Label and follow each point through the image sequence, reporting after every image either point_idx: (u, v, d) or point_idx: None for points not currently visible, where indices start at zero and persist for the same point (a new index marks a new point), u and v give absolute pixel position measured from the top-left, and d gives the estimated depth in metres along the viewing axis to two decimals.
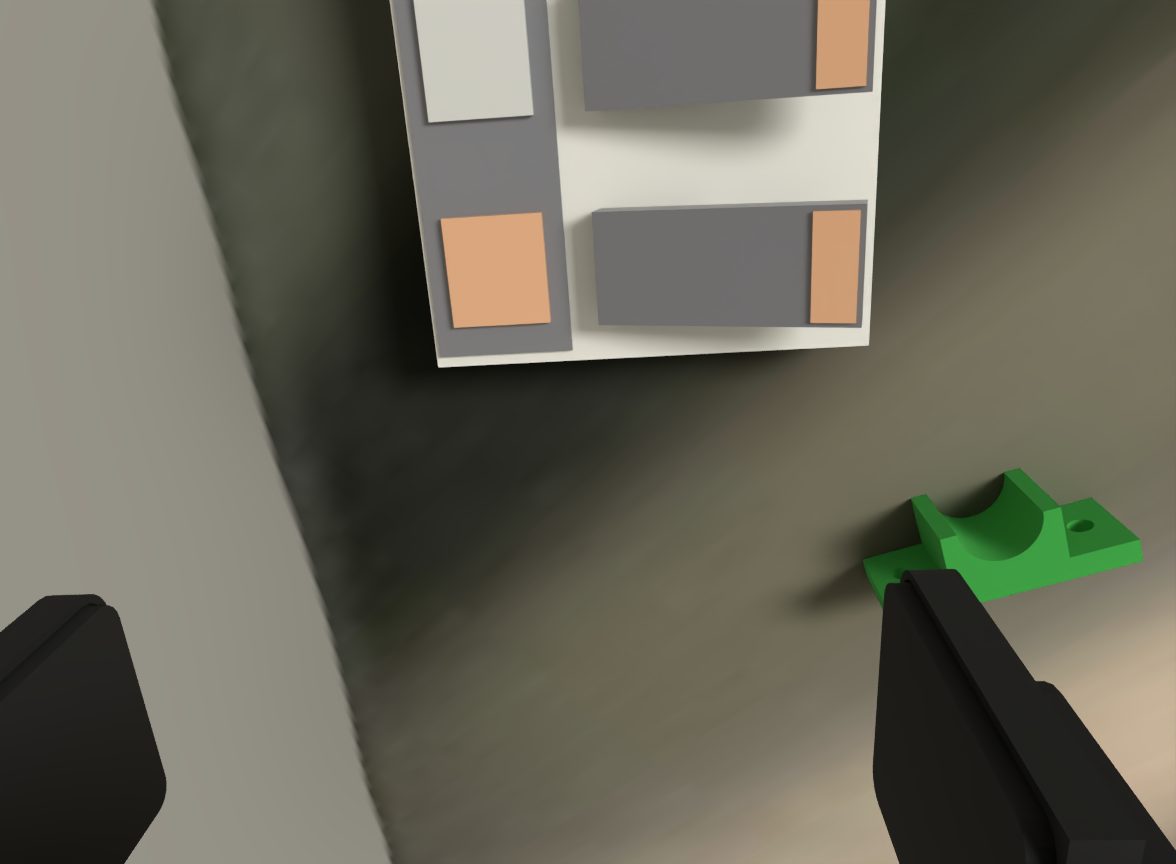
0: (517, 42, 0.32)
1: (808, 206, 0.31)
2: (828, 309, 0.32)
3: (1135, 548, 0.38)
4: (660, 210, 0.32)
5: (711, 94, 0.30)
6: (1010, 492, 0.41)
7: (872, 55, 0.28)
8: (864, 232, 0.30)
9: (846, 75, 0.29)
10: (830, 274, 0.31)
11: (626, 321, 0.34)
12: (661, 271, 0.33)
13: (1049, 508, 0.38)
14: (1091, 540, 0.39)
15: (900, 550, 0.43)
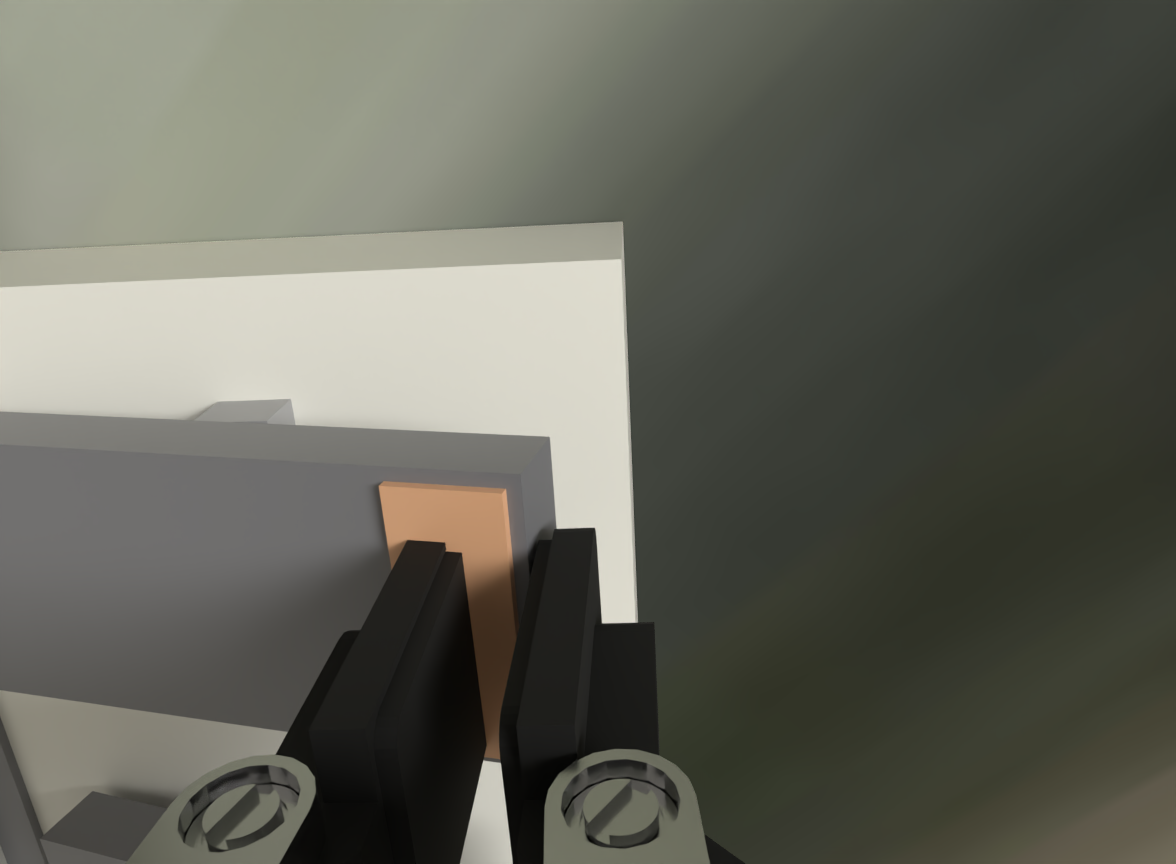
0: None
1: None
2: None
3: None
4: None
5: None
6: None
7: None
8: None
9: None
10: None
11: None
12: None
13: None
14: None
15: None
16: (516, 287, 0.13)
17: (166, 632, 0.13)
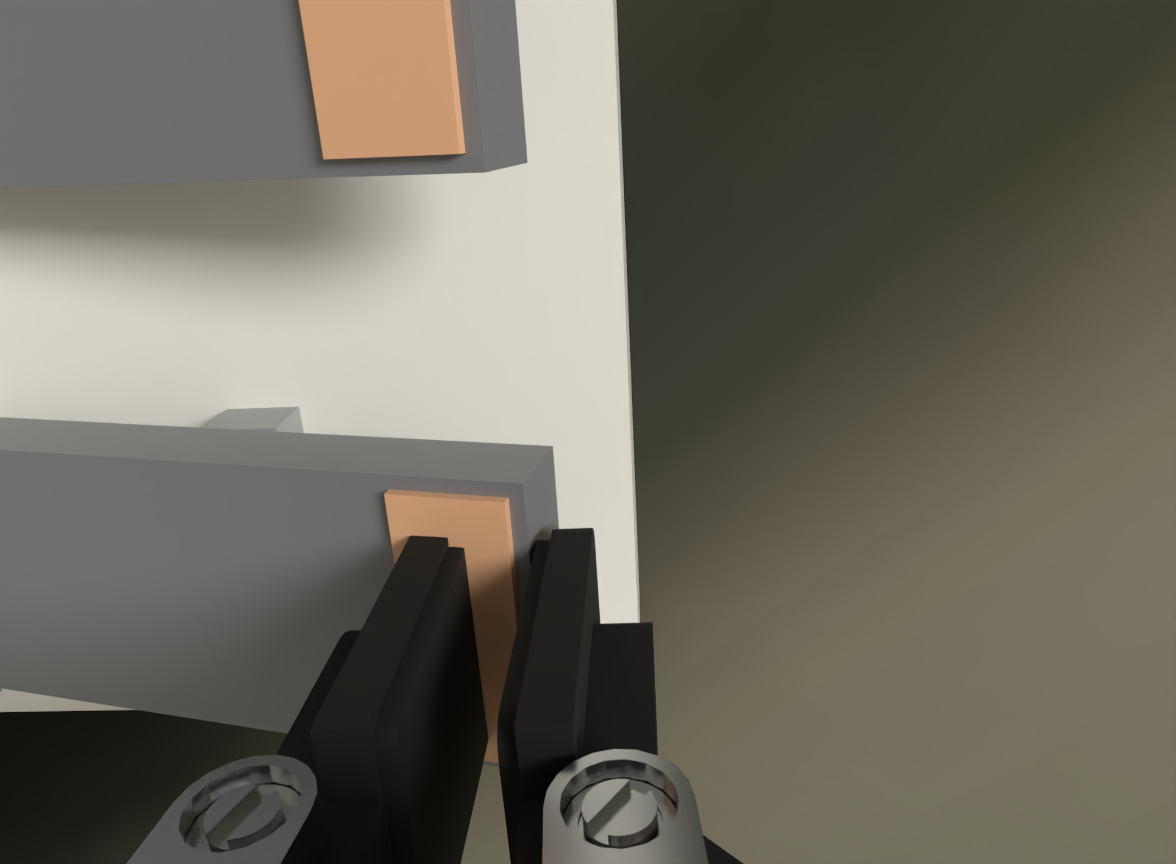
0: None
1: (375, 476, 0.11)
2: None
3: None
4: (38, 452, 0.12)
5: (74, 163, 0.10)
6: None
7: (469, 55, 0.09)
8: (525, 556, 0.11)
9: (405, 117, 0.09)
10: None
11: (34, 686, 0.14)
12: (77, 589, 0.13)
13: None
14: None
15: None
16: None
17: None
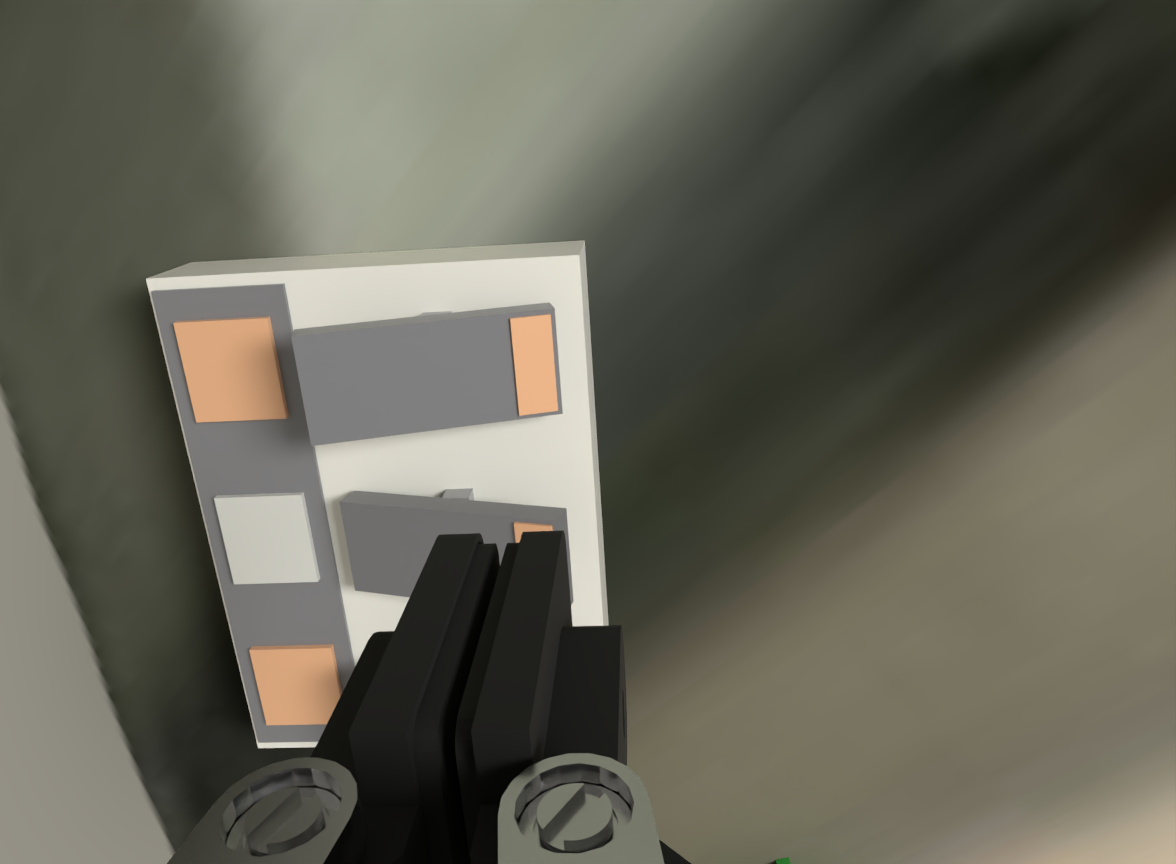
0: (300, 533, 0.39)
1: None
2: None
3: None
4: None
5: None
6: None
7: None
8: None
9: None
10: None
11: None
12: None
13: None
14: None
15: None
16: (540, 266, 0.35)
17: (418, 395, 0.34)
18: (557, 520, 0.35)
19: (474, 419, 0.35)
